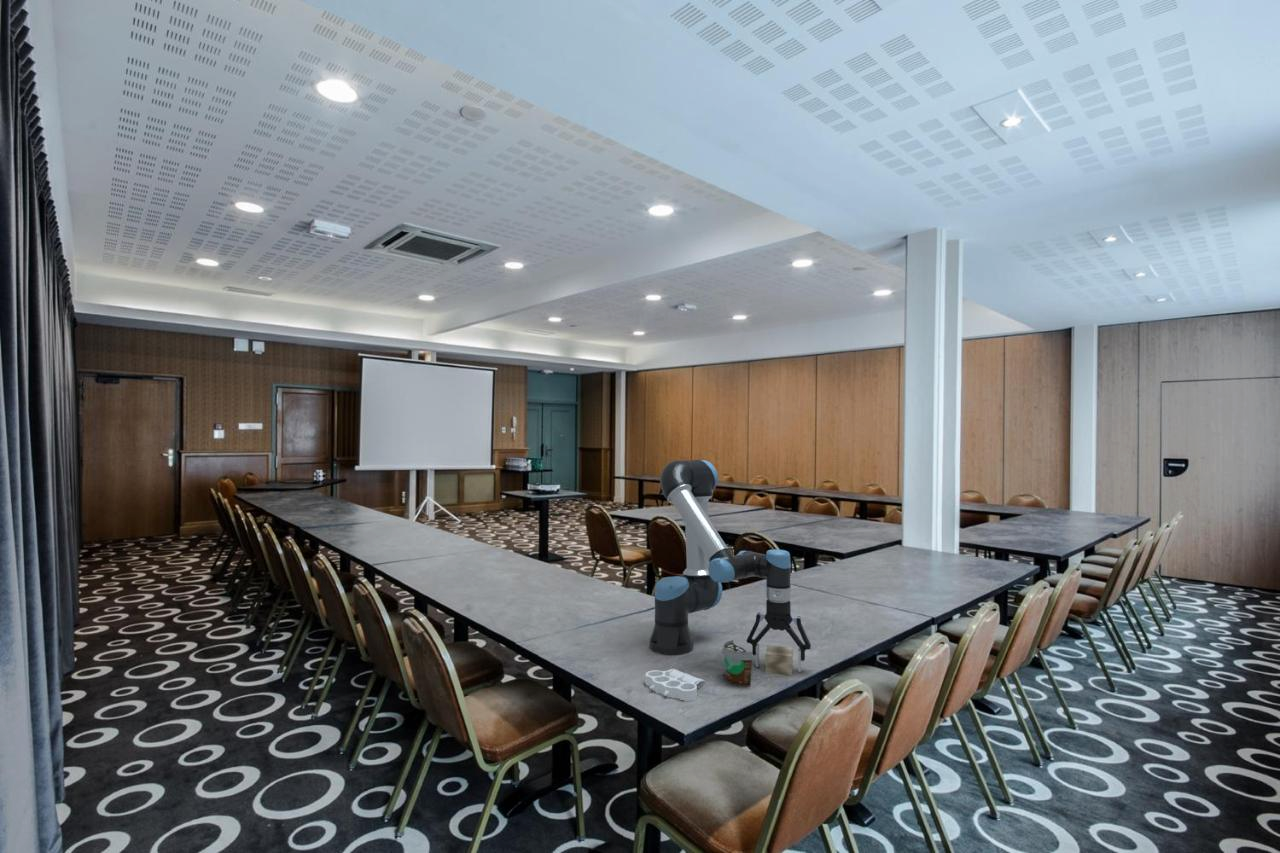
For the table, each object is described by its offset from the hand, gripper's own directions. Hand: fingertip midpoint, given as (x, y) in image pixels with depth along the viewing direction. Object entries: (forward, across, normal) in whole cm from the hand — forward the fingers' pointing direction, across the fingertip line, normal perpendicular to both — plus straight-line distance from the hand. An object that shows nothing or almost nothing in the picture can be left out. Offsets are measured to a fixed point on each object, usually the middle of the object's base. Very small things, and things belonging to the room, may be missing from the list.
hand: (778, 668), depth 192 cm
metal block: (0, 0, 0) cm, 1 cm away
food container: (0, -12, -14) cm, 19 cm away
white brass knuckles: (+1, -28, -25) cm, 37 cm away
